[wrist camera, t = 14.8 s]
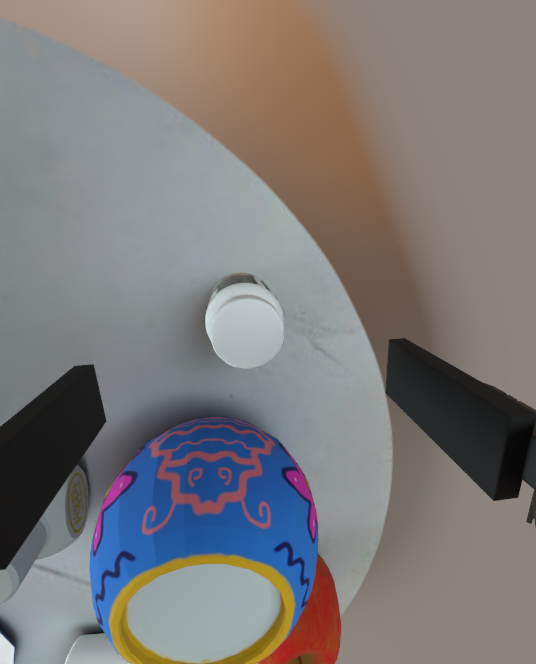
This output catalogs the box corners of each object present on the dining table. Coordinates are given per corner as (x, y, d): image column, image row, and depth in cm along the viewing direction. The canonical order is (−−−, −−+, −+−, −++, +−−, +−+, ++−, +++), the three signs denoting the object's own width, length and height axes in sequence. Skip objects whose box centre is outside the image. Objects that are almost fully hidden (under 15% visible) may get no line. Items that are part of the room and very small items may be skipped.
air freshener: (-8, 436, 30) (-118, 529, 20) (84, 433, 31) (20, 521, 21) (13, 525, 33) (-74, 641, 24) (96, 520, 34) (45, 630, 25)
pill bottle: (202, 323, 29) (189, 364, 20) (220, 262, 28) (215, 277, 18) (260, 339, 30) (274, 386, 21) (280, 282, 29) (305, 305, 19)
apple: (234, 596, 40) (236, 718, 30) (252, 530, 37) (260, 641, 27) (314, 598, 42) (341, 715, 32) (337, 536, 39) (374, 642, 29)
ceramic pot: (135, 529, 35) (70, 730, 21) (124, 385, 30) (28, 521, 16) (289, 521, 37) (325, 698, 23) (303, 386, 32) (361, 506, 18)
